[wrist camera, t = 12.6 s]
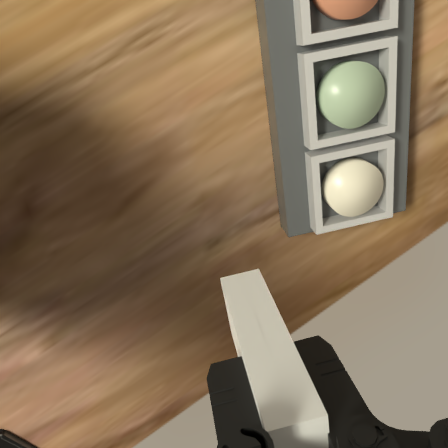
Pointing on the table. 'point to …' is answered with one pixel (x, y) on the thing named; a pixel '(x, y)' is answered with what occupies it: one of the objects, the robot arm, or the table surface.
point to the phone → (12, 441)
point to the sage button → (350, 93)
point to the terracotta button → (344, 8)
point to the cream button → (352, 186)
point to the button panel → (311, 117)
